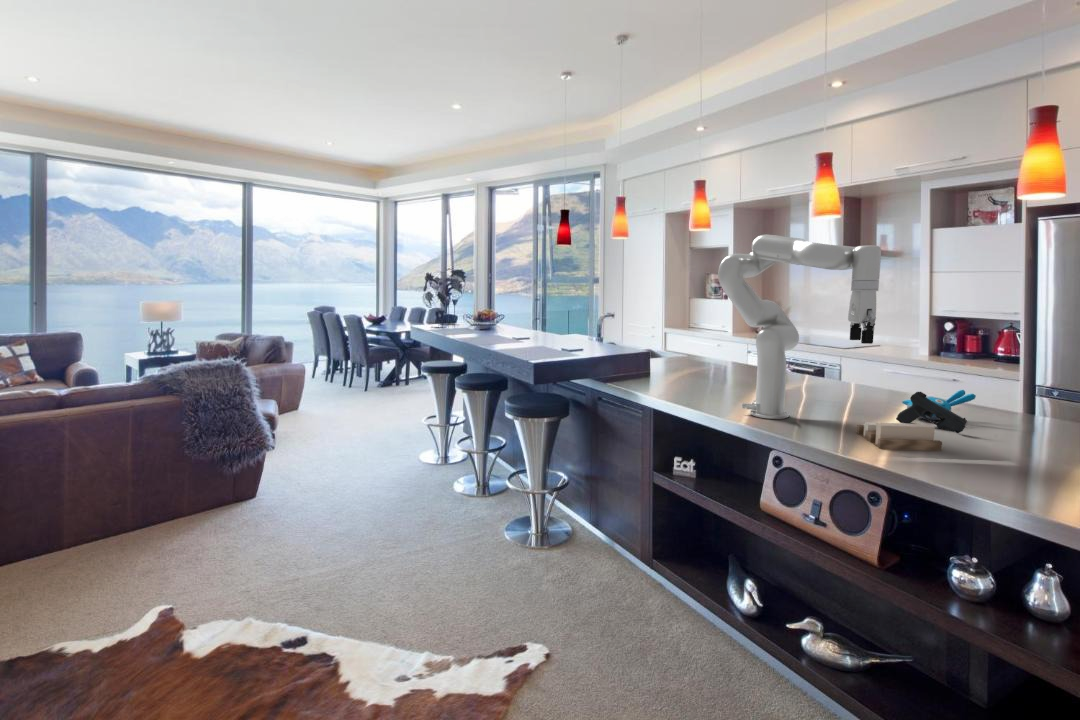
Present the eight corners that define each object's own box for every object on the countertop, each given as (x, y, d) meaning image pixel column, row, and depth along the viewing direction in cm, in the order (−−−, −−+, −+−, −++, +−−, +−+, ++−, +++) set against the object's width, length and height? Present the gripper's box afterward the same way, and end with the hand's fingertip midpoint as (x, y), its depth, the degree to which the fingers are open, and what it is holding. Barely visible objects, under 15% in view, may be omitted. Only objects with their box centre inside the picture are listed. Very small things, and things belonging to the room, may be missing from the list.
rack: (879, 452, 171) (880, 439, 170) (856, 436, 187) (857, 425, 187) (941, 454, 168) (942, 441, 168) (912, 438, 185) (913, 426, 185)
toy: (982, 428, 197) (985, 397, 196) (918, 425, 201) (920, 395, 199) (954, 414, 216) (956, 386, 215) (896, 412, 220) (898, 384, 219)
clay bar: (879, 446, 173) (881, 425, 172) (875, 443, 176) (876, 422, 175) (932, 448, 171) (934, 427, 170) (927, 445, 174) (929, 424, 173)
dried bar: (867, 437, 182) (868, 424, 181) (863, 435, 185) (864, 422, 184) (917, 439, 180) (919, 426, 179) (913, 436, 183) (914, 423, 182)
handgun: (896, 418, 203) (916, 388, 198) (948, 449, 193) (971, 418, 187) (894, 419, 202) (913, 389, 196) (946, 451, 191) (969, 420, 186)
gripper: (842, 285, 197) (838, 338, 199) (862, 286, 180) (858, 344, 183) (866, 285, 196) (863, 339, 198) (889, 286, 179) (885, 345, 181)
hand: (860, 341), depth 190 cm, fingers open, 9 cm apart
